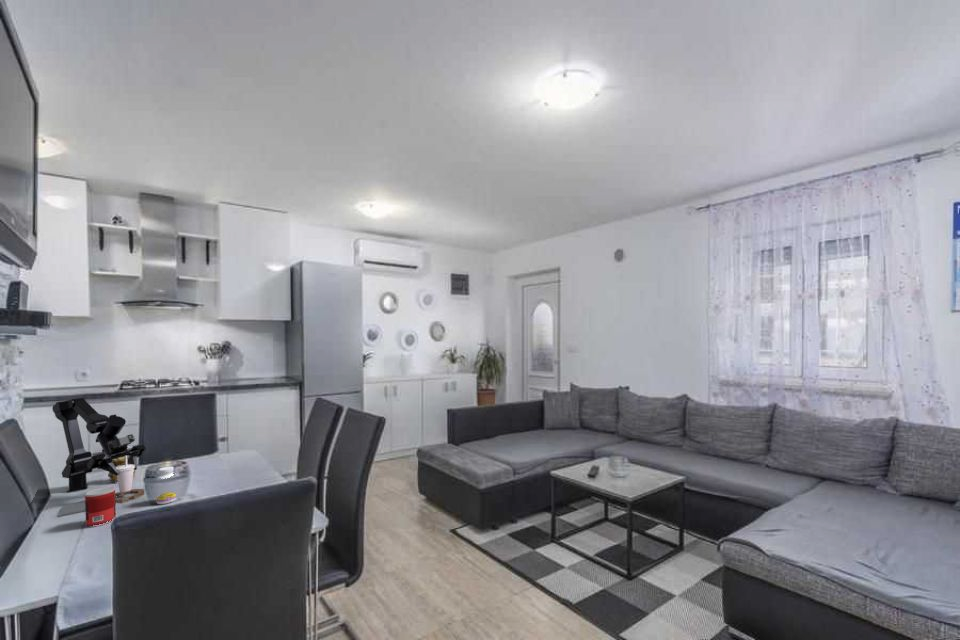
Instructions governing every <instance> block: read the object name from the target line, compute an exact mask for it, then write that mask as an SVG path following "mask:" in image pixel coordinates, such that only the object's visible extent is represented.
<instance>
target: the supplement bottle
mask: <svg viewBox="0 0 960 640" xmlns="http://www.w3.org/2000/svg"><path fill="white" fill-rule="evenodd" d="M174 470H175V469H174V466H165V467H161V468H159V469H158V474H159V475H158V476H159V478H161V479H165V478H166V479H167V478H170V477H171V476H173V475H174V474H173V473H174ZM177 499H178V497H177V498H176V494H174V493H165V494H164V493H163V494H161V495H160V496H159V497H158V498H157V500H156V499H155V500H156V502H157V503H156V502H155V503H156V504H157V505H166V504H171V503H173V502H175V501H176V500H177ZM170 502H171V503H170Z"/></svg>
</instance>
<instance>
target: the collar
mask: <svg viewBox="0 0 960 640" xmlns="http://www.w3.org/2000/svg"><path fill="white" fill-rule="evenodd" d="M128 493H130V494H132V495H129V494H128ZM122 494H125V495H129V496H125V497H120V496H119V495H121V496H123V495H122ZM144 495H145V489H144V488H131V490H130V491H127V492H120V491H117V492H115V497H116V496H118V497H116V498H115V501H116V502H117V503H118V502H119V503H121V504H123V503H128V502H129V501H132V500H136V499H137V498H140V497H142V496H144ZM119 497H120V498H119Z"/></svg>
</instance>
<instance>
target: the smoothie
mask: <svg viewBox="0 0 960 640" xmlns="http://www.w3.org/2000/svg"><path fill="white" fill-rule="evenodd" d="M125 460H126V465H123V466H119V467H116V469H117V471H118V473H119V474H118V475H117V480H118V483H117V485H118V490H119V491H118V492H127V491H130V490H131V489H133V488H132V485H133V478H134V477H133V472H134V468H135V465H134V464H129V465H127V455H126V456H125Z"/></svg>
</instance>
